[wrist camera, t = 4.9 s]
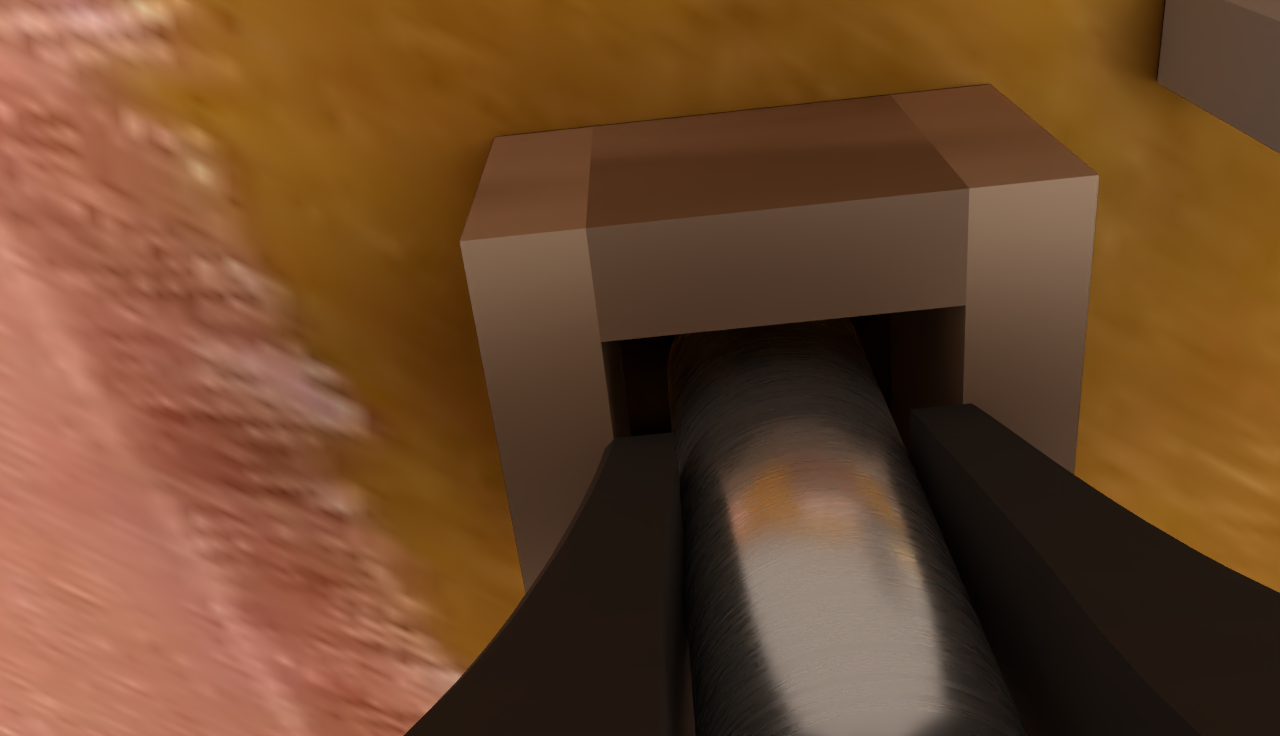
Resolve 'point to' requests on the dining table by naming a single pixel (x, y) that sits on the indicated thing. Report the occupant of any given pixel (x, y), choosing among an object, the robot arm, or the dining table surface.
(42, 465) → the dining table surface
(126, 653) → the dining table surface
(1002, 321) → the square hole block
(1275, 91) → the bay
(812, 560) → the pin
